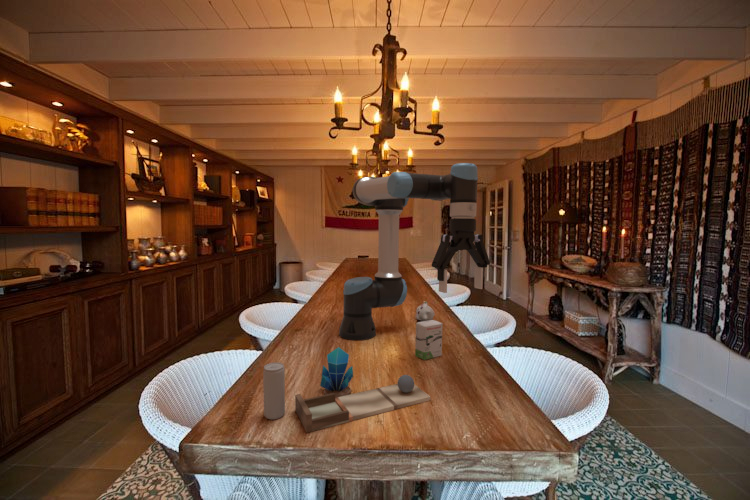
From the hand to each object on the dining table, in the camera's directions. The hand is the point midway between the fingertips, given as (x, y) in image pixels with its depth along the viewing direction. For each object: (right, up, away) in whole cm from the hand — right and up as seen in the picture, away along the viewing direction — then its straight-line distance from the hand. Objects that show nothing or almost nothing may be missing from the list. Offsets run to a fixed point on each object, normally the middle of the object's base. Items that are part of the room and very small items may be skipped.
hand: (461, 290), depth 103 cm
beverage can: (-49, -28, -20) cm, 60 cm away
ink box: (-7, -25, +19) cm, 32 cm away
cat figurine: (-2, -22, +63) cm, 67 cm away
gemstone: (-36, -27, -9) cm, 46 cm away
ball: (-17, -24, -10) cm, 31 cm away
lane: (-28, -27, -15) cm, 42 cm away
